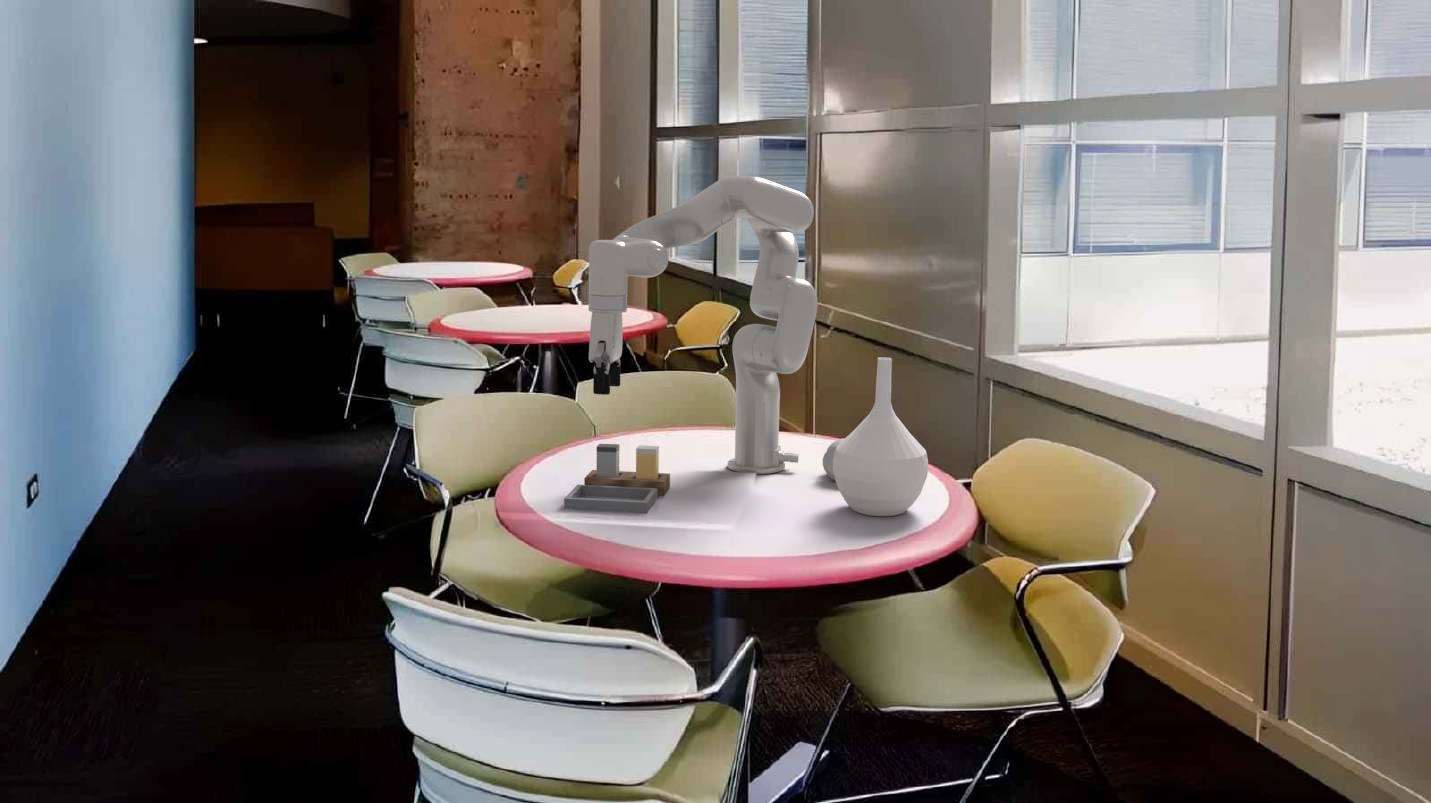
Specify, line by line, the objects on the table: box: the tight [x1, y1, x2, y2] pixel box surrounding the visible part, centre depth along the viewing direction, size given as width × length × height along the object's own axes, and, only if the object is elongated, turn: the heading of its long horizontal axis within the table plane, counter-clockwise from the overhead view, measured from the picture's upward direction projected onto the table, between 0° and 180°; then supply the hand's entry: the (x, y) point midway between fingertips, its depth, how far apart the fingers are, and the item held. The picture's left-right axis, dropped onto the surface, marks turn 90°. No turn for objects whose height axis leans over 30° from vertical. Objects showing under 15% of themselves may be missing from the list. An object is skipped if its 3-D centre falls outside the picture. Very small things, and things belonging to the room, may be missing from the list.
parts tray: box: [563, 484, 659, 514], centre depth 253 cm, size 16×11×3 cm
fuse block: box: [583, 469, 671, 498], centre depth 263 cm, size 16×7×4 cm, turn 82°
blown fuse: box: [596, 443, 620, 478], centre depth 263 cm, size 4×3×9 cm
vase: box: [833, 356, 929, 517], centre depth 253 cm, size 18×18×30 cm
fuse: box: [635, 444, 660, 480], centre depth 262 cm, size 4×3×9 cm
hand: (607, 390), depth 260 cm, fingers open, 9 cm apart
